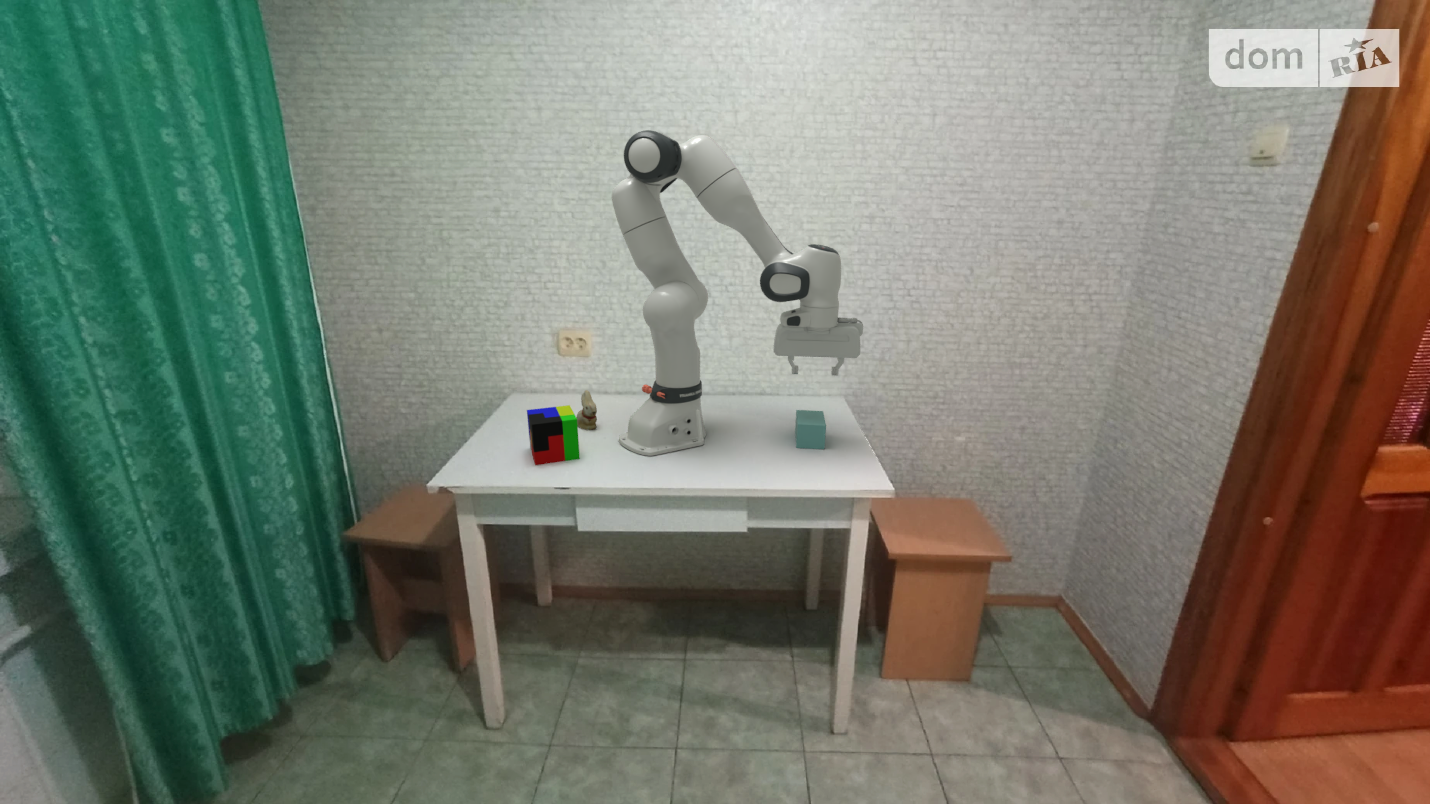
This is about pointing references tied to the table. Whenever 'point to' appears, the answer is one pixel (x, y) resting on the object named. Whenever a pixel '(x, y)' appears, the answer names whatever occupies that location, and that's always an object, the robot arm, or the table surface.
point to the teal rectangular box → (810, 429)
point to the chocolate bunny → (587, 412)
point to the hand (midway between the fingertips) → (814, 374)
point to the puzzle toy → (553, 434)
